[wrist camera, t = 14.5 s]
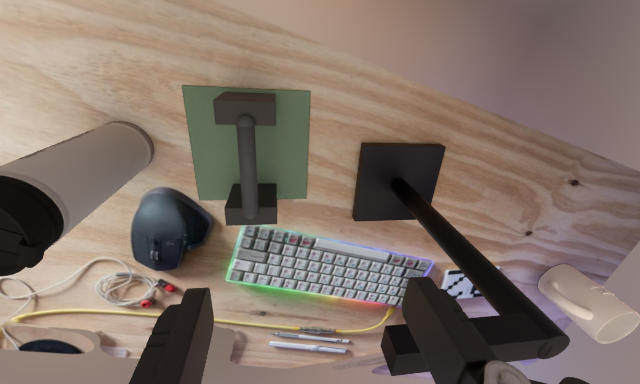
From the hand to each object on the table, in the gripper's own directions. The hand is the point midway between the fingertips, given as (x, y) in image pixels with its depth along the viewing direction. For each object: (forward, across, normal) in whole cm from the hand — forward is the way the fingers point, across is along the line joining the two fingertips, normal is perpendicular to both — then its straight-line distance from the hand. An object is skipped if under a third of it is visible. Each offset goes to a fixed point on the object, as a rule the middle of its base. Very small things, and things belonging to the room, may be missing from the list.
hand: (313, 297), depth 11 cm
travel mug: (+28, +20, +3) cm, 35 cm away
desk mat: (+28, +5, +3) cm, 29 cm away
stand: (+28, -14, +8) cm, 32 cm away
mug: (+28, -55, +29) cm, 68 cm away
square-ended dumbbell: (+28, +4, +3) cm, 28 cm away
